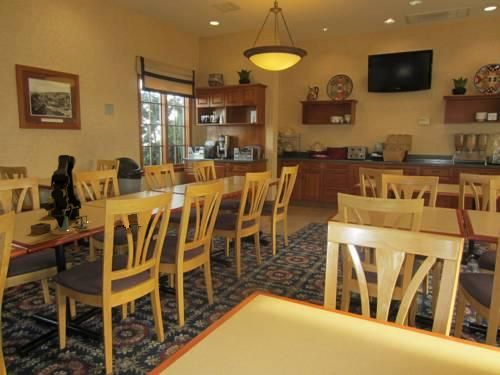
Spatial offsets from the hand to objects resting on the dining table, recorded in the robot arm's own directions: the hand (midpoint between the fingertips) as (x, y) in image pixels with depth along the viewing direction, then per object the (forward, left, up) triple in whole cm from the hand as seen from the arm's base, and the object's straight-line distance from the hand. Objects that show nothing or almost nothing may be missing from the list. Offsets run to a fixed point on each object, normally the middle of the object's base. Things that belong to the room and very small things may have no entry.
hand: (63, 225), depth 200 cm
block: (0, 0, -3) cm, 3 cm away
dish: (0, 0, -4) cm, 4 cm away
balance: (-11, -1, -4) cm, 12 cm away
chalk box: (-21, -45, -4) cm, 50 cm away
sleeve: (+7, -10, -4) cm, 13 cm away
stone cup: (-30, +15, -4) cm, 34 cm away
